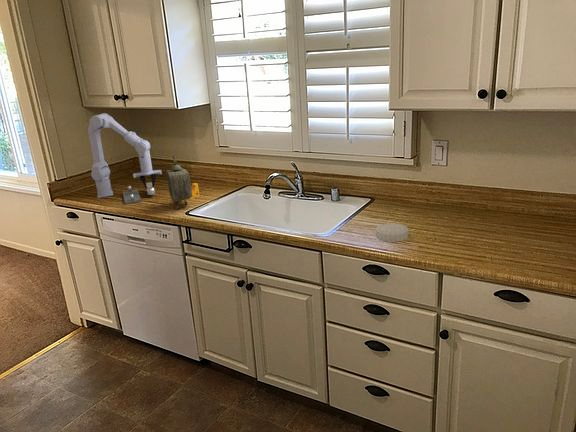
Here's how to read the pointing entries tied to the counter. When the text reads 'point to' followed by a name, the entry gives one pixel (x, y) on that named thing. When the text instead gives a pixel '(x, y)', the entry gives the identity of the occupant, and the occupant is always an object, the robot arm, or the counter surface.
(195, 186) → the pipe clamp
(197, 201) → the counter surface
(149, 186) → the ball knob lever
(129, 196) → the grey metal plate
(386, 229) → the mooncake
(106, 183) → the robot arm
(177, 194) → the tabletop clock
